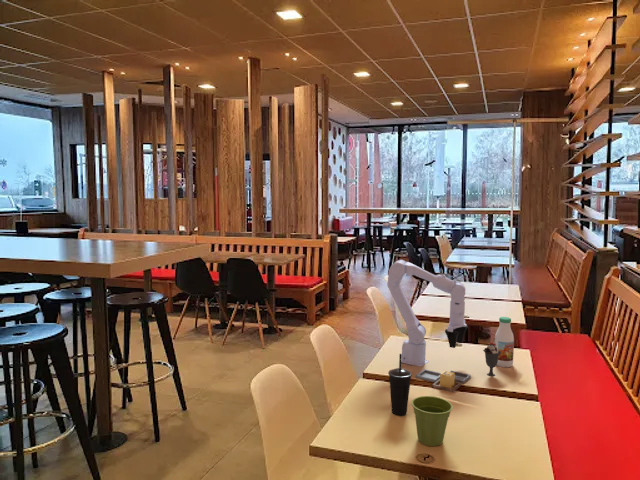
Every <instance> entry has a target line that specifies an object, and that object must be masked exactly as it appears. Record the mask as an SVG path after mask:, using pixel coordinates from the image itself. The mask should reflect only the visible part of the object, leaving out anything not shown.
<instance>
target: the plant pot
mask: <svg viewBox="0 0 640 480" xmlns="http://www.w3.org/2000/svg"><path fill="white" fill-rule="evenodd" d="M411 406H412V407H413V413H414V418H415V424H416V434H417V440H418V442H419V443H421V444H423V445H425V446H428V445H429V446H428V447H437V445H438V446H440V445H442V444H443V442H444V437H445V433H446V430H447V429H446V428H447V426H448V425H447V424H448V421H449V418H450V415H451V411H453V409H454V406H453V404H452V402H450V401H449V400H447V399H446V398H445V399H444V398H442V397H438V396H432V395H421V396H417V397H415V398H413V399H412V400H411Z"/></svg>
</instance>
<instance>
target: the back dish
mask: <svg viewBox="0 0 640 480" xmlns="http://www.w3.org/2000/svg"><path fill="white" fill-rule="evenodd" d="M449 372H453V373H455V380H454V381H456V382H460V383H461V385H462V384H463V385H464V384H465V383H466V382H467V381H469V379H471V377H472V376H471V374H469V373H463V372H460V371H455V370H450V371H449Z"/></svg>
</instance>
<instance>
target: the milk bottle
mask: <svg viewBox="0 0 640 480" xmlns="http://www.w3.org/2000/svg"><path fill="white" fill-rule="evenodd" d="M498 323H499V326H498V327H497V330H496V332H495V334H494V338H495V342H494V341H493V344H496V347H497V348H498V350H499V351H501V354H499V357H498V362H497V365H496V366H497V367H500V368H511V367H513V365H514V355H515V353H514V351H515V350H514V349H515V348H514V347H515V337H514V333H513V330H512V328H511V324H512V318H511V317H508V316H499V319H498Z"/></svg>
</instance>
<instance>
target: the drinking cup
mask: <svg viewBox="0 0 640 480" xmlns="http://www.w3.org/2000/svg"><path fill="white" fill-rule="evenodd" d="M401 361H402V353H399V360H398V362H399V363H398V368H392V369H389V371H388V373H387V374H388V376H389V378H388V379H389V391H390V392H389V393H390V406H391V414H392V415H394V416H396V417H403V416H406V415H407V413H408V404H409V395H410V388H411V380H412V379H411V378H412V376H413V373H412V372H411V371H410V370H408V369H406V368H402V363H401Z"/></svg>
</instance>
